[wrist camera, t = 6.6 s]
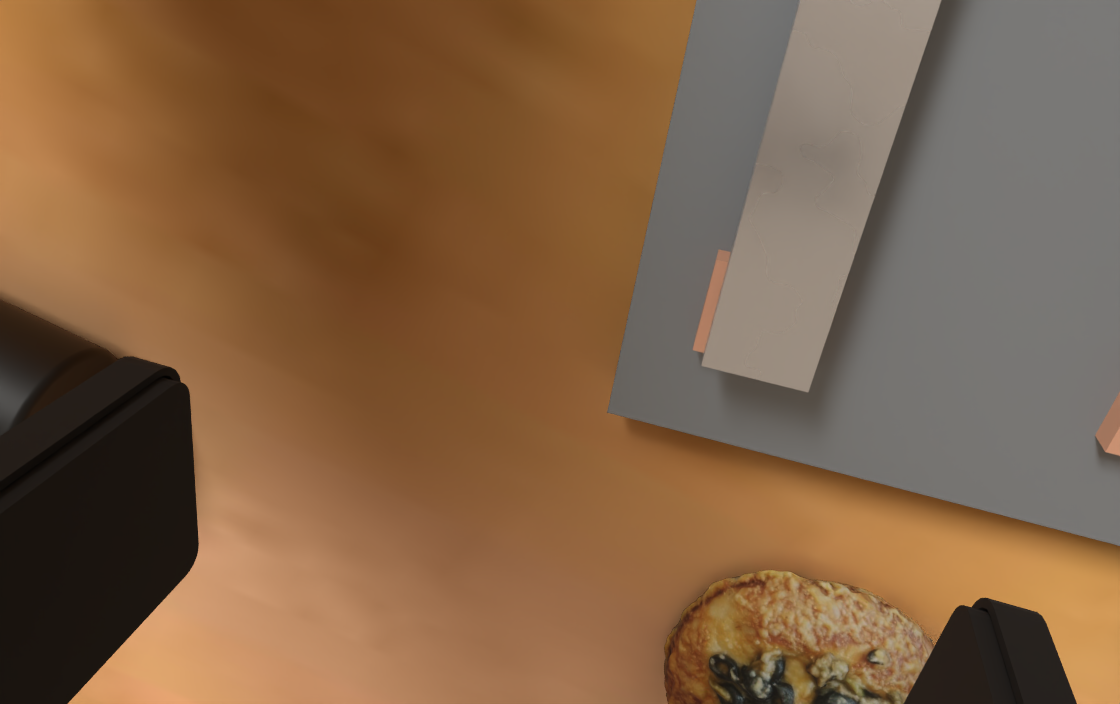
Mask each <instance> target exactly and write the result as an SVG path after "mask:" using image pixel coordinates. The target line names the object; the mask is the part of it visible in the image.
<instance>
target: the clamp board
mask: <svg viewBox="0 0 1120 704" xmlns="http://www.w3.org/2000/svg"><path fill="white" fill-rule="evenodd" d="M798 1H799V0H697V1H696V6H695V11H694V15H693V20H692V24H691V29H690V34H689V38H688V43H687V47H686V52H685V57H684V61H683V66H682V70H681V75H680V80H679V84H678V89H677V94H676V98H675V103H674V107H673V112H672V117H671V121H670V126H669V130H668V135H667V140H666V144H665V149H664V153H663V158H662V163H661V167H660V172H659V176H658V181H657V186H656V190H655V195H654V199H653V204H652V209H651V213H650V218H649V222H648V227H647V232H646V236H645V241H644V245H643V250H642V255H641V259H640V264H639V269H638V273H637V278H636V282H635V287H634V292H633V296H632V301H631V305H630V310H629V315H628V319H627V324H626V328H625V333H624V338H623V342H622V347H621V351H620V356H619V361H618V365H617V370H616V374H615V379H614V384H613V388H612V393H611V397H610V402H609V407H608V411H607V413H611V414H615V415H619V416H623V417H627V418H630V419H634V420H638V421H642V422H646V423H650V424H653V425H657V426H661V427H665V428H669V429H673V430H677V431H680V432H684V433H688V434H692V435H696V436H700V437H703V438H707V439H711V440H715V441H719V442H723V443H726V444H730V445H734V446H738V447H742V448H746V449H750V450H753V451H757V452H761V453H765V454H769V455H773V456H776V457H780V458H784V459H788V460H792V461H796V462H799V463H803V464H807V465H811V466H815V467H819V468H822V469H826V470H830V471H834V472H838V473H842V474H846V475H849V476H853V477H857V478H861V479H865V480H869V481H872V482H876V483H880V484H884V485H888V486H892V487H895V488H899V489H903V490H907V491H911V492H915V493H919V494H922V495H926V496H930V497H934V498H938V499H942V500H945V501H949V502H953V503H957V504H961V505H965V506H968V507H972V508H976V509H980V510H984V511H988V512H992V513H995V514H999V515H1003V516H1007V517H1011V518H1015V519H1018V520H1022V521H1026V522H1030V523H1034V524H1038V525H1041V526H1045V527H1049V528H1053V529H1057V530H1061V531H1065V532H1068V533H1072V534H1076V535H1080V536H1084V537H1088V538H1091V539H1095V540H1099V541H1103V542H1107V543H1111V544H1114V545H1118V546H1120V0H941V3H940V6H939V9H938V12H937V15H936V18H935V21H934V24H933V27H932V30H931V32H930V35H929V38H928V41H927V44H926V47H925V50H924V53H923V56H922V59H921V62H920V65H919V68H918V71H917V74H916V77H915V80H914V83H913V85H912V88H911V91H910V94H909V97H908V100H907V103H906V106H905V109H904V112H903V115H902V118H901V121H900V124H899V127H898V130H897V133H896V135H895V138H894V141H893V144H892V147H891V150H890V153H889V156H888V159H887V162H886V165H885V168H884V171H883V174H882V177H881V180H880V183H879V186H878V188H877V191H876V194H875V197H874V200H873V203H872V206H871V209H870V212H869V215H868V218H867V221H866V224H865V227H864V230H863V233H862V236H861V239H860V241H859V244H858V247H857V250H856V253H855V256H854V259H853V262H852V265H851V268H850V271H849V274H848V277H847V280H846V283H845V286H844V289H843V291H842V294H841V297H840V300H839V303H838V306H837V309H836V312H835V315H834V318H833V321H832V324H831V327H830V330H829V333H828V336H827V339H826V342H825V344H824V347H823V350H822V353H821V356H820V359H819V362H818V365H817V368H816V371H815V374H814V377H813V380H812V383H811V386H810V389H809V392H804V391H800V390H796V389H792V388H788V387H784V386H780V385H776V384H772V383H768V382H764V381H760V380H756V379H752V378H748V377H744V376H740V375H736V374H732V373H728V372H724V371H720V370H716V369H712V368H708V367H704V366H701V365H702V359H703V353H704V349H705V345H706V342H707V338H708V334H709V331H710V327H711V323H712V319H713V316H714V312H715V308H716V305H717V301H718V297H719V294H720V290H721V286H722V282H723V279H724V275H725V271H726V268H727V264H728V260H729V257H730V253H731V249H732V245H733V242H734V238H735V234H736V231H737V227H738V223H739V220H740V216H741V212H742V208H743V205H744V201H745V197H746V194H747V190H748V186H749V183H750V179H751V175H752V171H753V168H754V164H755V160H756V157H757V153H758V149H759V146H760V142H761V138H762V134H763V131H764V127H765V123H766V120H767V116H768V112H769V109H770V105H771V101H772V97H773V94H774V90H775V86H776V83H777V79H778V75H779V72H780V68H781V64H782V60H783V57H784V53H785V49H786V46H787V42H788V38H789V35H790V31H791V27H792V23H793V20H794V16H795V12H796V9H797V5H798Z"/></svg>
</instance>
